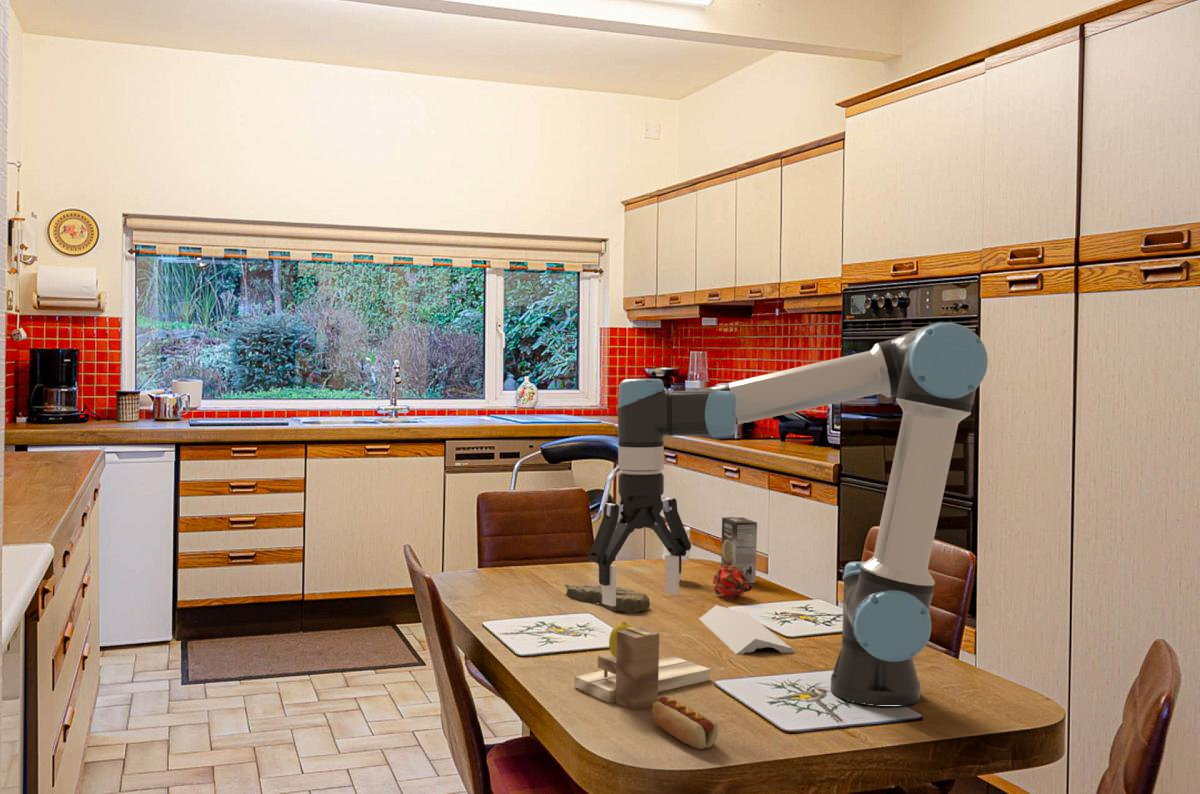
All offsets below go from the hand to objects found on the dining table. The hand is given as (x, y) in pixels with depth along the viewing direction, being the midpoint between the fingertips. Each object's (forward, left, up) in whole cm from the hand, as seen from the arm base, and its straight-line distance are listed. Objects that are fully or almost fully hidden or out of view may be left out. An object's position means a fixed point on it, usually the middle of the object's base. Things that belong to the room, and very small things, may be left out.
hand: (641, 599), depth 176 cm
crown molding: (+23, -48, -18) cm, 56 cm away
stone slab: (+63, -42, -18) cm, 78 cm away
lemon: (+20, -13, -18) cm, 30 cm away
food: (-16, +4, -18) cm, 24 cm away
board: (+8, -8, -18) cm, 21 cm away
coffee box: (+65, -87, -18) cm, 110 cm away
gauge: (+4, 0, -18) cm, 18 cm away
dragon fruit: (+50, -71, -18) cm, 88 cm away
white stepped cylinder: (+73, -73, -18) cm, 105 cm away
